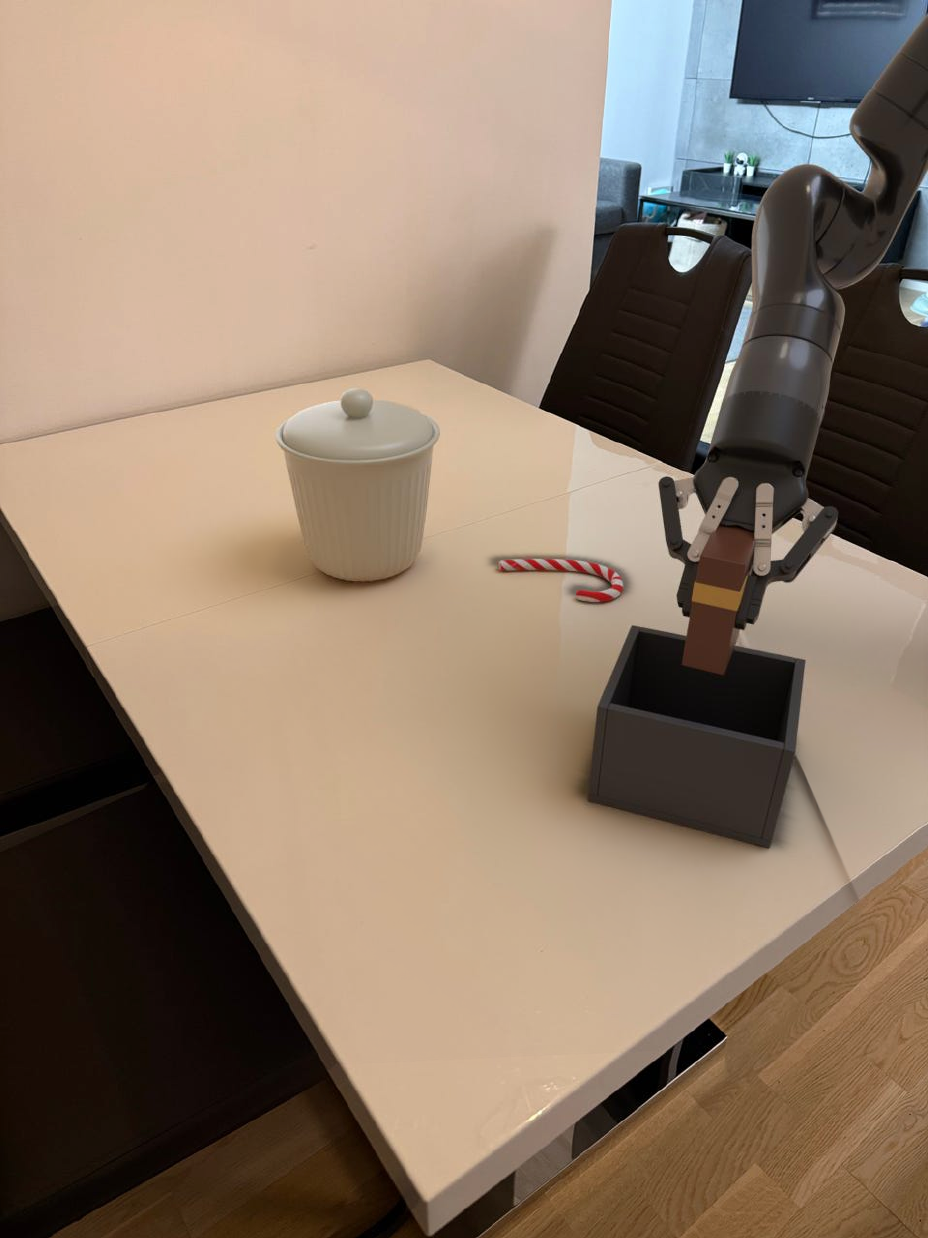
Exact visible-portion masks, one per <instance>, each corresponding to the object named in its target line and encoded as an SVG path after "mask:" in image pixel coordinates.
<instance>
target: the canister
mask: <svg viewBox="0 0 928 1238" xmlns="http://www.w3.org/2000/svg"><path fill="white" fill-rule="evenodd" d="M440 435H441V428H440V427H439V425H438V423H437V422H436V421H435V420H434V419H433V418H431V417H429V416H428V415H426V414H424V413H422V412H421V411H419V410H417V409H416V408H414V407H411V406H408V405H406V404H403V403H399V402H395V401H389V400H382V399H374V398H373V396H372V394H371V393H370V392H369V391H368V390H367V389H364V388H360V387H354V388H349V389H347V390H345V391H344V392H343V393H342V394H341V397H340V400H333V401H327V402H323V403H319V404H315V405H312V406H309V407H307V408H303V409H302V410H300V411H299V412H296V413H295V414H293V416H292V417H290V418H288V419H286V420H285V421H284V422H282V423H281V424H280V425H279V426H278V428H277V429H276V431H275V442H276V443H277V445H278V447H279V448H280V449H281V450H282V451H283V454H284V459H285V460H284V461H285V464H286V469H287V473H288V479H289V483H290V488H291V492H292V499H293V502H294V506H295V511H296V516H297V519H298V524H299V528H300V531H301V535H302V539H303V544H304V547H305V550H306V553H307V555H308V557H309V559H310V560H311V562H312V563H313V565H314V566H315V567H316V568H317V569H318V570H319V571H320V572H321V573H324V574H326V575H327V576H331V577H332V578H335V579H339V580H343V581H344V580H345V581H347V582H350V581H351V582H373V581H380V580H386V579H388V578H393V577H394V576H396V575H400V574H401V573H402V572H405V571H406V570H407V569H408V568H410V567H412V565H413V564H414V562H415V561H416V560H417V558H418V556H419V554H420V552H421V549H422V545H423V540H424V535H425V527H426V519H427V509H428V501H429V495H430V494H429V492H430V485H431V484H430V483H431V474H432V465H433V454H434V446H435V445H436V444H437V443H438V441H439V438H440Z"/></svg>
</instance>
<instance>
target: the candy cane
mask: <svg viewBox="0 0 928 1238" xmlns="http://www.w3.org/2000/svg"><path fill="white" fill-rule="evenodd" d="M497 569H498V570H499V571H501V572H504V571H505V572H511V571H566V572H577V573H579V572H580V573H585V574H591V575H595V576H598V577H601V578H603V579H605V580H607V581H608V582H609V583H610V585H611V587H609V588H608V589H605V590H600V591H590V590H589V591H588V590H585V589H579V590H577V591H576V593H575V598H576V599H577V600H579V601H583V602H589V603H604V602H609V601H611V600H613V599H616V598H618V597H620V595H621V594H622V592H623V591H624V582H623V579H622V577H621V576H620V575H619V573H617V572H616V571H614V570H613V569H611V568H609V567H607V566H605V565H602V564H600V563H599V564H598V563H595V562H590V561H585V560H584V561H583V560H576V559H562V558H561V559H559V558H558V559H557V558H522V559H521V558H520V559H519V558H518V559H515V558H514V559H501V560H499V561H498V563H497Z"/></svg>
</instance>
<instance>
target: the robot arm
mask: <svg viewBox="0 0 928 1238" xmlns="http://www.w3.org/2000/svg"><path fill="white" fill-rule="evenodd" d="M848 128H849V133H850V135H851V137H852V138H853V141H854V142H855V143H856V144H857V145H858V146H859V148H860V149H861V150H862V151H863V152H864V154H865V155H866V156H867V157H868V159H869V161H870V163H871V164H870V171H869V175H868V178H867V181H866V184H865V186H864V189H863V190H862V191H861V192H860V191H859V190H857V189H856V188H854V187H853V186H851V185H850V184H848V183H847V182H845V181H844V180H843V179H840V178H839V177H838V176H836V175H835V174H833V172H831V171H829V170H828V169H825V168H824V167H822V166H819V165H816V164H812V163H803V164H798V165H795V166H793V167H791V168H789V169H787V170H785V171H784V172H782V173H781V174H780V175H779V176H778V177H777V178H775V180H773V182H772V183H771V184H770V186H769V187H768V188H767V190H766V191H765V193H764V194H763V196H762V198H761V200H760V203H759V205H758V208H757V210H756V213H755V216H754V221H753V226H752V233H751V295H752V309H751V313H750V316H749V319H748V323H747V327H746V330H745V333H744V337H743V341H742V344H741V348H740V351H739V354H738V357H737V358H736V361H735V363H734V366H733V367H732V370H731V372H730V375H729V378H728V381H727V385H726V387H725V390H724V395H723V398H722V402H721V405H720V409H719V412H718V415H717V420H716V422H715V426H714V429H713V433H712V436H711V440H710V444H709V448H708V451H707V454H706V458H705V460H704V463H703V464H702V465H701V466H700V467H699V469H698V470H696V472H695V473H694V475H693V477H689V478H683V479H677V480H674V479H673V477H671V476H663V477H661V478H660V479H659V480H658V491H659V498H660V507H661V513H662V521H663V528H664V538H665V544H666V548H667V551H668V555H669V556H670V558H671V559H674V560H678V561H680V562H681V563H683V565H684V568H683V571H682V575H681V578H680V582H679V584H678V589H677V592H676V602H677V603H676V604H677V606H678V608H679V609H681V614H682V617H685V618H690V612H691V606H692V595H693V589H694V583H695V581H696V576H697V570H698V564H699V559H700V555H701V553H702V551H703V549H704V547H705V545H706V543H707V541H708V539H709V537H710V535H711V533H712V531H714V532H715V531H716V530H717V529H718V528H719V527H720V525H721V526H726V527H740V528H742V529H745V530H748V531H752V532H755V535H754V540H756V543H755V548H754V560H753V568H752V572H751V575H748V577H747V581H746V584H745V588H744V592H743V596H742V599H741V603H740V605H739V609H738V612H737V616H736V620H735V628H736V629H740V631H745V630H746V629H747V628H746V627H747V624H748V625H755V623H756V622H757V621H758V619H759V615H760V612H761V609H762V604H763V601H764V597H765V593H766V590H767V588H768V586H769V585H771V584H772V583H776V582H783V583H784V584H785V583H787V584H789V583H792V582H794V581H795V580H796V578H797V577H798V576H799V575H800V573H802V571H803V570H804V568H805V567H806V566H807V564H809V562H810V561H811V560H812V559H813V557H814V556H815V555H816V554H817V552H818V551H819V549H820V548H821V547H822V546H823V545H824V543H825V542H826V540H827V539H828V538H829V537H830V535H831V534H832V533H833V532H834V531H835V529H836V526H837V521H838V519H839V511H838V509H837V508H836V507H835V506H831V505H828V506H822V505H821V504H820V503H818V502H815V501H814V500H812V499H811V498H809V490H808V487H807V484H806V481H807V476H808V473H809V469H810V465H811V461H812V458H813V453H814V450H815V446H816V442H817V439H818V435H819V431H820V427H821V424H822V422H823V420H824V418H825V413H826V411H825V410H826V409H825V408H826V404H827V401H828V397H829V391H830V382H831V375H832V370H833V369H832V368H833V365H834V361H835V357H836V354H837V350H838V347H839V342H840V338H841V335H842V330H843V326H844V322H845V321H844V320H845V314H846V307H845V304H844V303H845V302H844V300H843V298H842V296H841V294H840V293H839V292H838V291H837V290H842V289H846V288H848V287H851V286H853V285H855V284H857V283H858V282H861V281H862V280H864V278H865V277H867V276H868V275H869V274H870V273H872V271H874V270H875V268H876V267H877V266H878V265H879V263H880V262H881V261H882V259H883V258H884V257H885V255H886V253H887V251H888V249H889V247H890V246H891V245H892V242H893V240H894V238H895V236H896V234H897V232H898V230H899V227H900V225H901V223H902V221H903V219H904V217H905V215H906V213H907V211H908V209H909V207H910V205H911V203H912V202H913V199H914V198H915V196H916V194H917V192H918V190H919V189H920V187H921V185H922V182H923V181H924V179H925V177H926V175H927V173H928V12H927V13H926V15H924V17H923V18H922V20H921V21H920V22H919V23H918V25H917V26H916V27H915V28H914V29H913V31H911V33H910V35H909V36H908V37H907V39H906V40H905V41H904V43H902V45H901V47H900V48H899V49H898V51H897V52H896V53H895V55H894V56H893V57H892V59H891V60H890V62H889V63H888V64H887V66H885V68H884V70H882V73H880V75H879V77H878V78H877V79H876V81H875V82H874V83H873V85H872V88H870V89H869V90H868V91H867V93H866V94H865V96H864V97H863V98H862V99H861V101H860V102H859V104H858V105H857V107H856V108H855V110H854V111H853V114H852V115H851V117H850V120H849V125H848ZM693 494H695V495H696V497H697V499H698V502H699V504H700V506H701V508H702V511H703V513H704V517H703V519H702V521H701V523H700V525H699V528H698V531H697V533H696V535H695V538H694V539H693V541H692V543H690V542H689V541H687V540H686V539H684V537H683V530H682V523H681V516H680V510H683V509H685V508H686V507H687V506H688V503H689V498H690V497H691V495H693ZM799 514H801V515H802V516H803V519H802V521H801V530H802V532H803V533H802V534H801V535H800V537H799V538H798V539H797V541H796V542H795V543H794V544H793V546H792V547H791V548H790V549H789V551H788V552H787V553H786V554H785V555H784V557H783V558H782V559H776V560H772V540H773V539H772V538H773V534H774V533H776V532H778V531H779V530H780V529H781V528H782V527H784V526H785V525H786V524H787V523H788V522H790V521H791V520H793V519H794V518H795V517H796V516H797V515H799Z"/></svg>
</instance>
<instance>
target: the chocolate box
mask: <svg viewBox="0 0 928 1238" xmlns="http://www.w3.org/2000/svg"><path fill="white" fill-rule="evenodd" d="M754 535H755V532H752V531H748V530H745V529H742V528H740V527H726V526H721V525H720V527H719V528H718V529H717V530H716V531H715V532H714V531H712V533H711V535H710V537H709V539H708V541H707V543H706V545H705V547H704V549H703V551H702V553H701V555H700V559H699V564H698V570H697V576H696V581H695V583H694V589H693V595H692V606H691V612H690V618H689V617H688V618H689V619H688V624H687V631H686V635H685V636H686V642H685V648H684V654H683V660H682V665H684V666H688V667H692V668H696V669H700V670H704V671H708V672H712V673H716V674H720V675H724V673H725V671H726V668H727V665H728V663H729V660H730V657H731V655H732V652H733V650H734V647H735V646H736V644H737V642H738V639H739V636H740V631H741V630H740V629H736V628H735V620H736V616H737V612H738V609H739V605H740V603H741V599H742V596H743V592H744V588H745V584H746V581H747V577H748V575H751V572H752V568H753V560H754V548H755V543H756V540H754Z"/></svg>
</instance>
